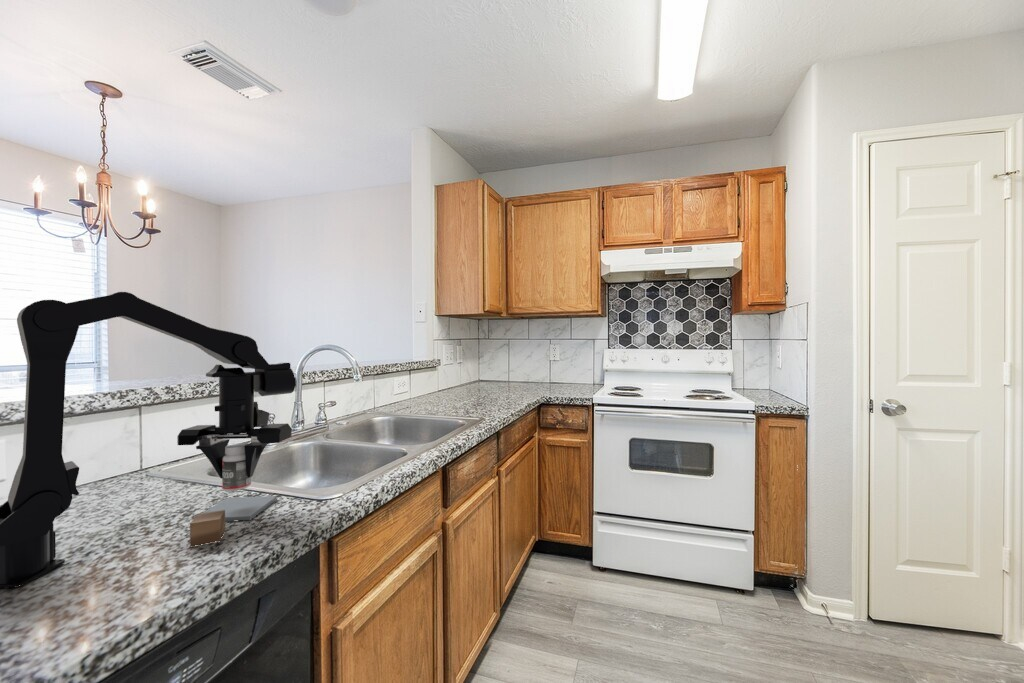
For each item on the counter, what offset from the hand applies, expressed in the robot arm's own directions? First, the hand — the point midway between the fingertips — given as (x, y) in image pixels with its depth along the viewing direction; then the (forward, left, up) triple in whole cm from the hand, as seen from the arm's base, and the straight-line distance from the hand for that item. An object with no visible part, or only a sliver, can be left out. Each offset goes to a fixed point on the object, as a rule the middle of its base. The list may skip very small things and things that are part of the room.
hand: (236, 477), depth 81 cm
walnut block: (-12, -2, -7) cm, 14 cm away
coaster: (0, 0, -7) cm, 7 cm away
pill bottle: (0, 0, -2) cm, 2 cm away
